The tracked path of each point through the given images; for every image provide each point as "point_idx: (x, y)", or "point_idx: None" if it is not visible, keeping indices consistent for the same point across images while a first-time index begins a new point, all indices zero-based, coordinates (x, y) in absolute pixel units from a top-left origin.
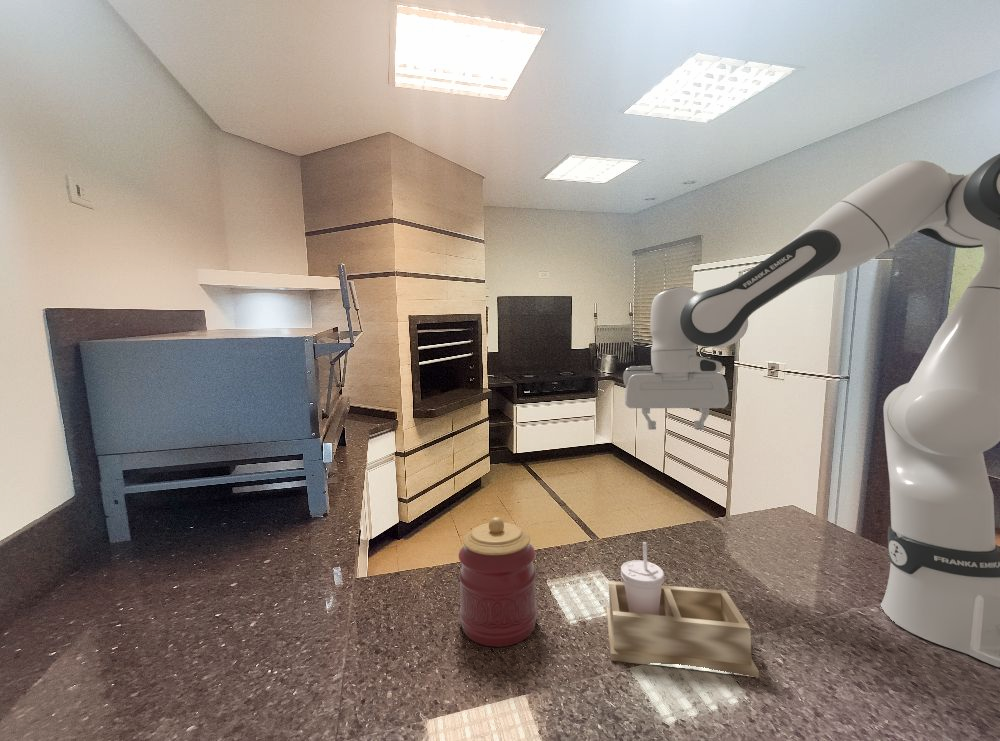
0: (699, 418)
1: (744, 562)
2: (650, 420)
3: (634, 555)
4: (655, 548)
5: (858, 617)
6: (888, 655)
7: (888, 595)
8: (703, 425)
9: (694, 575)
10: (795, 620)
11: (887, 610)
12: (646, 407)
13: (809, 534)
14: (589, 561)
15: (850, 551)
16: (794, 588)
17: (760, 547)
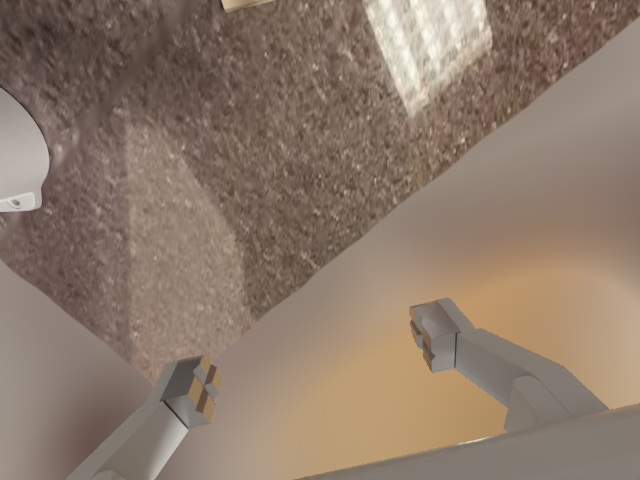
0: (174, 443)
1: (216, 225)
2: (469, 336)
3: (361, 188)
4: (332, 222)
5: (72, 116)
6: (29, 16)
7: (12, 141)
8: (158, 379)
9: (277, 156)
10: (143, 70)
11: (31, 132)
12: (612, 415)
13: (146, 338)
14: (425, 141)
15: (98, 307)
16: (152, 171)
17: (200, 278)
